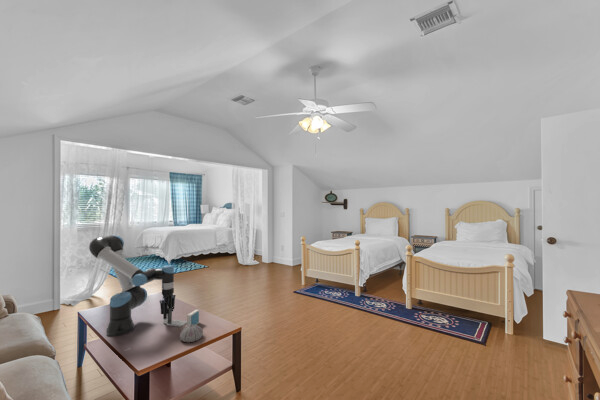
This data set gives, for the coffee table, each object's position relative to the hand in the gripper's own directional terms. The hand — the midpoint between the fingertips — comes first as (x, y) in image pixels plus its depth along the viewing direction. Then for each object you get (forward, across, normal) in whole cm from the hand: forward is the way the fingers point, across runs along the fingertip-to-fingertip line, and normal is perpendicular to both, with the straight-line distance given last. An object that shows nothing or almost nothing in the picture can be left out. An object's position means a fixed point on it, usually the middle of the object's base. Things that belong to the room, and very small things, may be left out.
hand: (167, 322), depth 191 cm
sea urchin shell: (+1, -17, -30) cm, 35 cm away
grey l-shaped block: (+1, 0, -6) cm, 6 cm away
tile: (+1, 0, -20) cm, 20 cm away
